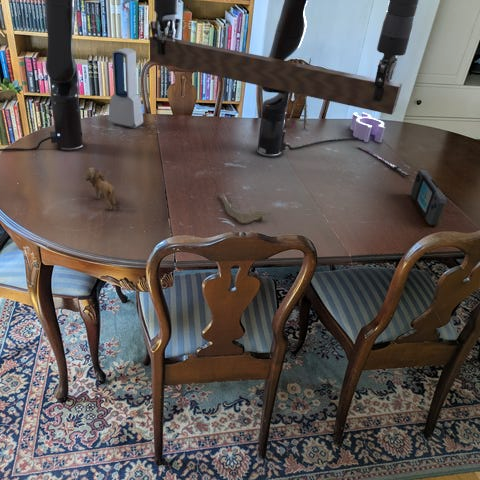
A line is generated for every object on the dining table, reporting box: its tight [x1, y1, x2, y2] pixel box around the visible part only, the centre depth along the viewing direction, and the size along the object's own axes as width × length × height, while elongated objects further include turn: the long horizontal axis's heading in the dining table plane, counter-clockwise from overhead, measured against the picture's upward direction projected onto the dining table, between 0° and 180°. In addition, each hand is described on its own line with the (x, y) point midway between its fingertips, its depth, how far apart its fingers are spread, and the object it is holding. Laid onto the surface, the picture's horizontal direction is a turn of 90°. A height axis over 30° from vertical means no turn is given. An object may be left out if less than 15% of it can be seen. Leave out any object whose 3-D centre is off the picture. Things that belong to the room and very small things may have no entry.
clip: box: [349, 112, 386, 143], centre depth 214 cm, size 20×12×7 cm, turn 11°
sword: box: [357, 146, 410, 177], centre depth 189 cm, size 31×3×1 cm, turn 26°
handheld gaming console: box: [410, 169, 447, 227], centre depth 153 cm, size 23×3×10 cm, turn 178°
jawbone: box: [218, 193, 271, 225], centre depth 143 cm, size 9×20×2 cm, turn 50°
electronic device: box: [108, 47, 144, 129], centre depth 190 cm, size 12×8×30 cm, turn 71°
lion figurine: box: [82, 167, 121, 211], centre depth 139 cm, size 15×5×9 cm, turn 50°
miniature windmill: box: [286, 57, 312, 130], centre depth 210 cm, size 9×8×30 cm
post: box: [149, 35, 403, 116], centre depth 143 cm, size 81×5×8 cm, turn 64°
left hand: (165, 53), depth 155 cm, fingers closed on post, 4 cm apart
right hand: (378, 98), depth 131 cm, fingers closed on post, 4 cm apart
